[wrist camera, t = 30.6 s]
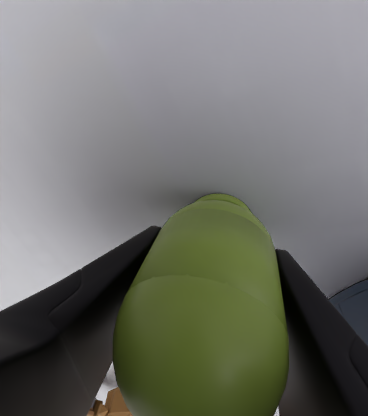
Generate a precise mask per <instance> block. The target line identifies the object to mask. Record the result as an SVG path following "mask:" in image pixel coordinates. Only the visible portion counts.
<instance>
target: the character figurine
mask: <svg viewBox="0 0 368 416" xmlns="http://www.w3.org/2000/svg"><path fill="white" fill-rule="evenodd" d="M92 402H93V403H92V406H91V408H90V410H89V412H88V414H87V416H133V415H132V414H131V412H130V411H129V409H128V408H127V406H126V404H125V401H124V399H123V397H122V394H121V392H120V389H119V387H117V388H115V389H113V390H110V391H108V395H107V399H106V403H105V405H103V404H102V403H103V401H99V400H96V398H95V399H94V401H92Z"/></svg>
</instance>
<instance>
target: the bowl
mask: <svg viewBox="0 0 368 416" xmlns="http://www.w3.org/2000/svg"><path fill="white" fill-rule="evenodd" d="M329 301H330V302H331V303H332V305H333V306H334V307H335V308H336V309H337V311H338V312H339V313H340V314H341V315H342V316H343V318H344V319H345V320H346V321H347V322H348V324H349V325H350V326H351V327H352V328H353V329H354V331H355V332H356V335H359V336H360V338H361V339H362V340H363V341H364V342H365V344H366V345H367V346H368V279H366V280H364V281H362V282H359V283H357V284H355V285H353V286H351V287H349V288H347V289H345V290H344V291H342V292H340V293H338V294H336V295H335V296H333V297H332V298H331V299H329Z"/></svg>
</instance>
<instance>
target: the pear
mask: <svg viewBox="0 0 368 416" xmlns="http://www.w3.org/2000/svg"><path fill="white" fill-rule="evenodd" d="M113 366H114V371H115V376H116V381H117V385H118V387H119V389H120V392H121V394H122V397H123V399H124V401H125V404H126V406H127V408H128V409H129V411H130V412H131V414H132V415H133V416H273V415H274V414H275V412H276V409H277V407H278V404H279V402H280V400H281V397H282V395H283V393H284V390H285V388H286V383H287V378H288V372H289V340H288V332H287V325H286V318H285V311H284V304H283V298H282V291H281V284H280V277H279V270H278V263H277V256H276V252H275V248H274V245H273V242H272V239H271V237H270V235H269V233H268V232H267V230H266V229H265V227H264V226H263V224H262V223H261V222H260V221H259V220H258V219H257V218H256V217H255V216H254V215H253V214H252V213H251V211H250V210H249V208H248V207H247V206H246V205H245V204H244V203H243V202H242V201H240V200H239V199H237V198H235V197H233V196H230V195H226V194H210V195H206V196H203V197H201V198H199V199H198V200H196V201H195V202H194V203H192V204H189V205H187V206H185V207H184V208H182V209H180V210H179V211H177V212H176V213H175V214H174V215H172V216H171V217H170V218H169V219H168V221H167V222H166V223H165V225H164V226H163V227H162V229H161V230H160V232H159V234H158V235H157V237H156V239H155V241H154V243H153V245H152V247H151V249H150V250H149V252H148V254H147V256H146V258H145V260H144V262H143V263H142V265H141V267H140V269H139V271H138V273H137V275H136V277H135V278H134V280H133V282H132V284H131V286H130V288H129V290H128V292H127V293H126V295H125V297H124V300H123V302H122V305H121V307H120V310H119V312H118V315H117V318H116V323H115V328H114V333H113Z"/></svg>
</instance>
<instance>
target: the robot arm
mask: <svg viewBox="0 0 368 416" xmlns="http://www.w3.org/2000/svg"><path fill="white" fill-rule="evenodd" d="M161 229H162V228H161V227H157V226H151V227H149V228H148V229H146V230H144V231H143V232H141V233H139V234H138V235H136V236H134V237H133V238H131V239H129V240H128V241H126V242H124V243H123V244H121V245H119V246H118V247H116V248H114V249H113V250H111V251H109V252H108V253H106V254H104V255H103V256H101V257H99V258H98V259H96V260H94V261H93V262H91V263H89V264H88V265H86V266H84V267H83V268H82V269H79V270H78V271H76V272H74V273H73V274H71V275H69V276H67V277H66V278H64V279H62V280H61V281H59V282H57V283H55V284H53V285H51V286H49V287H48V288H46V289H44V290H42V291H40V292H38V293H36V294H34V295H32V296H30V297H28V298H26V299H24V300H22V301H20V302H18V303H16V304H14V305H12V306H10V307H8V308H6V309H4V310H2V311H0V416H87V414H88V412H89V410H90V408H91V406H92V403H93V402H92V401H94V399H95V397H96V395H97V393H98V391H99V388H100V386H101V384H102V382H103V380H104V378H105V376H106V374H107V372H108V370H109V367H110V365H111V363H112V361H113V333H114V328H115V323H116V318H117V315H118V312H119V310H120V307H121V305H122V302H123V300H124V297H125V295H126V293H127V292H128V290H129V288H130V286H131V284H132V282H133V280H134V278H135V277H136V275H137V273H138V271H139V269H140V267H141V265H142V263H143V262H144V260H145V258H146V256H147V254H148V252H149V250H150V249H151V247H152V245H153V243H154V241H155V239H156V237H157V235H158V234H159V232H160V230H161ZM275 252H276V256H277V263H278V270H279V277H280V284H281V291H282V298H283V304H284V311H285V318H286V325H287V332H288V340H289V372H288V378H287V383H286V388H285V390H284V393H283V395H282V397H281V400H280V402H279V404H278V406H279V415H280V416H368V346H367V345H366V344H365V342H364V341H363V340H362V339H361V338H360V336H359V335H356V332H355V331H354V329H353V328H352V327H351V326H350V325H349V324H348V322H347V321H346V320H345V319H344V318H343V316H342V315H341V314H340V313H339V312H338V311H337V309H336V308H335V307H334V306H333V305H332V303H331V302H330V301H329V300H328V299H327V298H326V296H325V295H324V294H323V293H322V292H321V290H320V289H319V288H318V287H317V286H316V285H315V283H314V282H313V281H312V280H311V279H310V277H309V276H308V275H307V274H306V273H305V271H304V270H303V269H302V268H301V267H300V266H299V264H298V263H297V262H296V261H295V260H294V258H293V257H292V256H291V255H290V254H289V253H288V252H287V251H286V250H280V249H275Z"/></svg>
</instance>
